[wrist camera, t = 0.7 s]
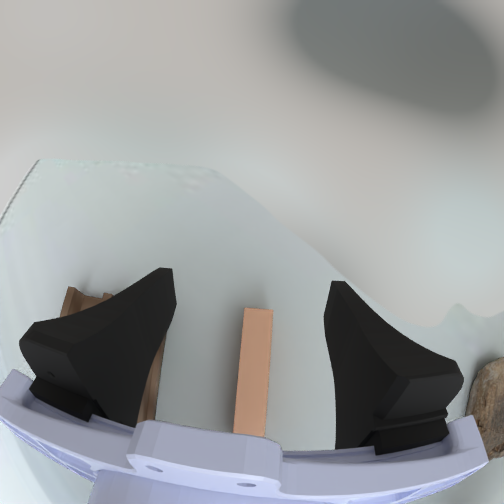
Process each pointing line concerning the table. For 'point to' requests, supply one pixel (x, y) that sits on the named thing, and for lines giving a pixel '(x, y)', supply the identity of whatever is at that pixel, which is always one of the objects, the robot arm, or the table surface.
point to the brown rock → (489, 407)
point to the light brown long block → (253, 372)
